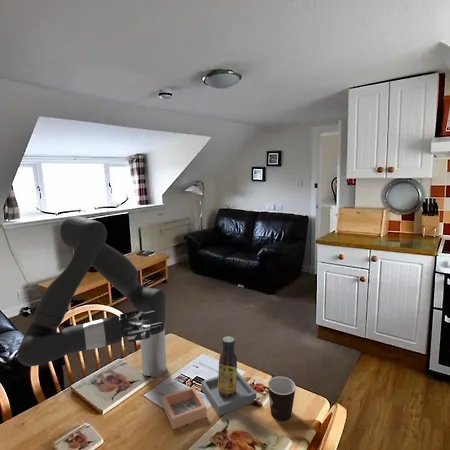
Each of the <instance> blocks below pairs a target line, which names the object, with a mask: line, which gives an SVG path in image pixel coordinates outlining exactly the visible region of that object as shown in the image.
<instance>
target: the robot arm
mask: <svg viewBox="0 0 450 450" xmlns="http://www.w3.org/2000/svg"><path fill="white" fill-rule="evenodd" d="M107 231H108V230H107V228H106V226H105V225H104V224H103V223H102V222H101V221H97V220H94V219H91V218H88V217H85V216H79V215H78V216H77V215H76V216H70V217H67V218H66V219H65V220H63V222H62V223H61V225H60V229H59V235H60V238H61V240H62V242H63V243H64V244H65V245H66V246H67V247H68V248H69V249H71V250H73V251H74V254H73V256H72V258H71V260H70V262H69V264H68V265H67V267H65V269H64V270H63V271H62V272H61V273H60V274H59V275H58V276H57V277H56V278H55V279H54V280H53V281H52V282H51V283H50V284H49V285H48V286H47V288H46V290H45V291H44V292H43V294H42V296H41V299H40V300H39V303H38V304H37V307H36V310H35V312H34V314H33V319H32V321H31V322H30V325H29V326H28V327H27V328H28V329H27V330H26V332H25V334H24V335H23V338H22V340H21V341H20V344H19V347H18V349H17V353H16V354H17V356H16V358H17V361H18V362H19V363H20V364H21V365H23V366H26V367H36V366H42V365H45V364H47V363H50V362H53V361H55V360H57V359H60V358H63V357H64V356H68V355H70V354H75V353H79V352H84V351H86V350H87V351H88V350H96V349H101V348H104V347H108V346H111V345H115V344H121V342H122V340H123V338H124V337H126V338H127V342H128V343H133V342H138V341H140V355H141V372H143V373H142V374H145V375H147V376H151V377H150V378H157V377H160V376H162V375H163V374H165V373H166V371H167V352H166V349H167V348H166V331H165V325H166V323H165V322H166V313H167V311H166V306H167V305H166V304H167V303H166V302H167V301H166V293H165V292H164V291H163V290H162V289H160V288H155V287H147V286H144V285H142V284H141V283H140V282H139V281H138V280H139V279H138V278H139V273H138V269H137V268H136V266H135V265H134V264H133V263H132V261H130V259H129V258H128V257H126V256H125V255H124V254H123V253H121V251H118V250H117V249H115V248H114V247H112V246H111V245H109V244H107V243H106V241H107V238H108V232H107ZM92 267H93V268H94V269H95V270H96V272H98V273H99V274H100V275H101V276H102V278H104V279H105V280H106V281H107V282H108V283H109V284H110V285H111V286H113V287H114V288H115V289H116V290H117V291H119V292H120V293H121V294H122V295H123V296H124V297H125V298H126V299H127V301H128V302H129V303H130V304H131V306H132V307H133V308H134V309H135V310H133V311H128V312H124V313H121V314H119V316H118V315H113V316H109V317H105V318H104V317H103V318H100V319H95V320H91V321H88V322H84V323H81V324H76V325H71V326H67V327H65V328H63V329H61V330H60V331H59V332H57V330H58V327H59V326H60V325H61V323H63V320H64V318H65V315H66V313H67V311H68V309H69V307H70V304H71V302H72V300H73V297H74V295H75V293H76V291H77V290H78V288H79V287H80V285H81V283H82V281H83V279H84V278H85V276H86V275H87V273H88V272H89V270H90V269H91V268H92ZM145 375H144V376H145ZM147 376H146V377H147Z"/></svg>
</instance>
